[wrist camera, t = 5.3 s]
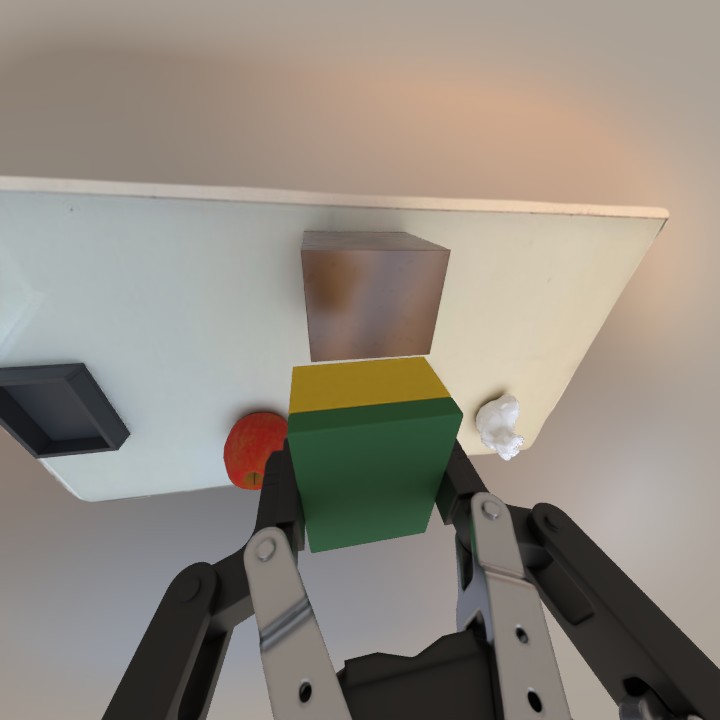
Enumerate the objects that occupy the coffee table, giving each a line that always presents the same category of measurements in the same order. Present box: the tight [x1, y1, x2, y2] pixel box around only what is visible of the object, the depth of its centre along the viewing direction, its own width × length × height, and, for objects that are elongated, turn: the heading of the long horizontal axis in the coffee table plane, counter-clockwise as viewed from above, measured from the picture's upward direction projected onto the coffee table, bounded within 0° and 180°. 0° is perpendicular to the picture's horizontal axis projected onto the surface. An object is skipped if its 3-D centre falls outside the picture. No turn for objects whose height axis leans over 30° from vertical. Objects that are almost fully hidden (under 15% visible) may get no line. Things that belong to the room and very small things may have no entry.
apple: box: [223, 412, 288, 490], centre depth 40 cm, size 10×10×10 cm
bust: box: [476, 394, 524, 460], centre depth 47 cm, size 12×8×11 cm
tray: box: [0, 363, 130, 459], centre depth 35 cm, size 13×10×3 cm
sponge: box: [287, 357, 463, 553], centre depth 11 cm, size 8×6×4 cm
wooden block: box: [301, 231, 450, 362], centre depth 28 cm, size 12×10×12 cm
